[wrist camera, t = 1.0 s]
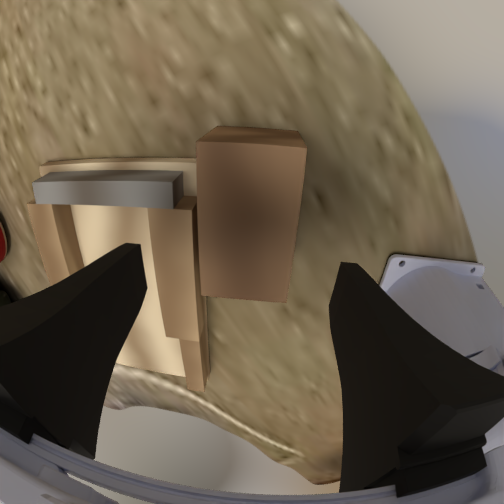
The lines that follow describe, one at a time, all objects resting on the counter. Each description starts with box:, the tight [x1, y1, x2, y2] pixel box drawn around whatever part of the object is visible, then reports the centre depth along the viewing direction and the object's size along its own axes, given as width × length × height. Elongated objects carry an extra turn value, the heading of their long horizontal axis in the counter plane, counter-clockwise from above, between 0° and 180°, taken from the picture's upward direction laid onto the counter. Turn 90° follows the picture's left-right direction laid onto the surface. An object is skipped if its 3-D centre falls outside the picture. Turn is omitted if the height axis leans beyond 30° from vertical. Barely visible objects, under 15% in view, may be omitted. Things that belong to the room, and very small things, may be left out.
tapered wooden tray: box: [27, 158, 210, 392], centre depth 21 cm, size 12×20×3 cm, turn 176°
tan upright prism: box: [196, 126, 307, 303], centre depth 16 cm, size 4×8×5 cm, turn 177°
